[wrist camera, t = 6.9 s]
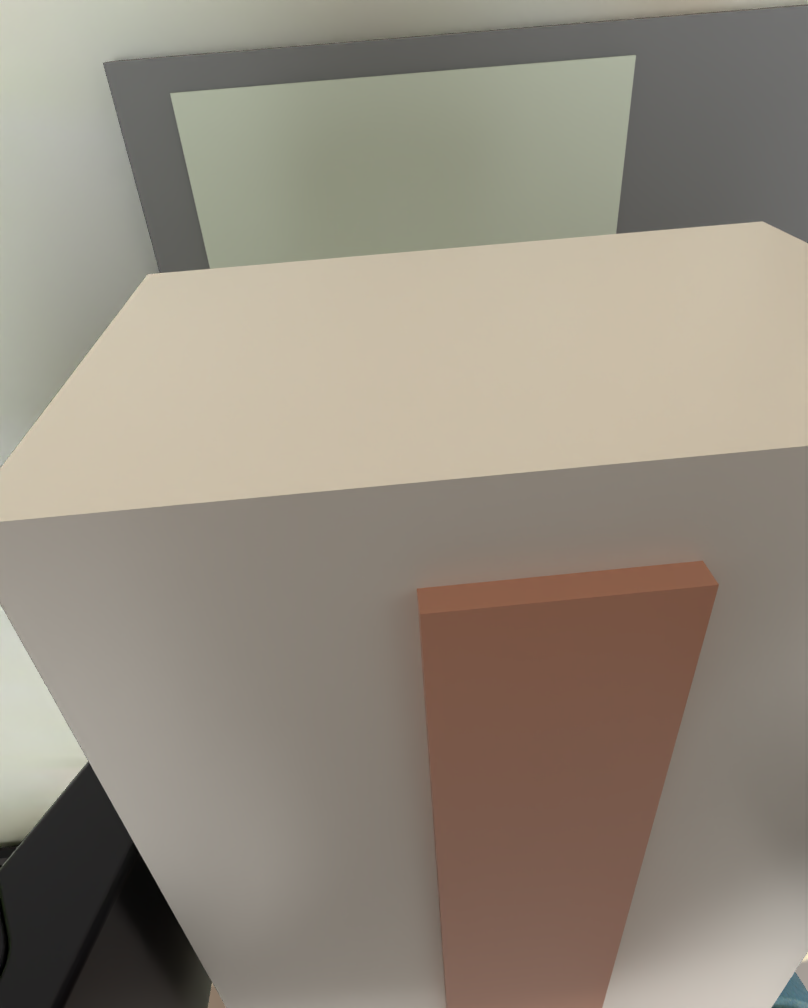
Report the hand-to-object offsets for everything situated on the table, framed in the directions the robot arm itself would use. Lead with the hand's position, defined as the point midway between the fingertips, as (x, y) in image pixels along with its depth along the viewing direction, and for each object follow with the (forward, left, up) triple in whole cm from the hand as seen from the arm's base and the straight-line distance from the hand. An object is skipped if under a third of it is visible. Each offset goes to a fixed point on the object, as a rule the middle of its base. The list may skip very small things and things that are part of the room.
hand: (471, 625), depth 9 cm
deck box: (0, 0, -1) cm, 1 cm away
